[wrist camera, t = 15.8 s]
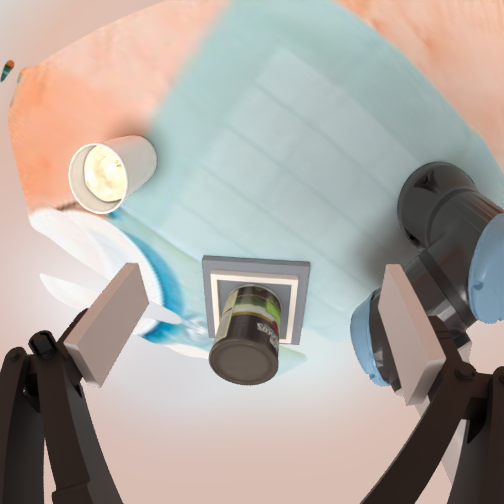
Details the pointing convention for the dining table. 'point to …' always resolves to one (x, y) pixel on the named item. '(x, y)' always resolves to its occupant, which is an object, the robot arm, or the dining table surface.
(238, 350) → the coffee can
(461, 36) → the dining table surface
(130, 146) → the candle holder
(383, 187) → the dining table surface
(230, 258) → the grey square tray
